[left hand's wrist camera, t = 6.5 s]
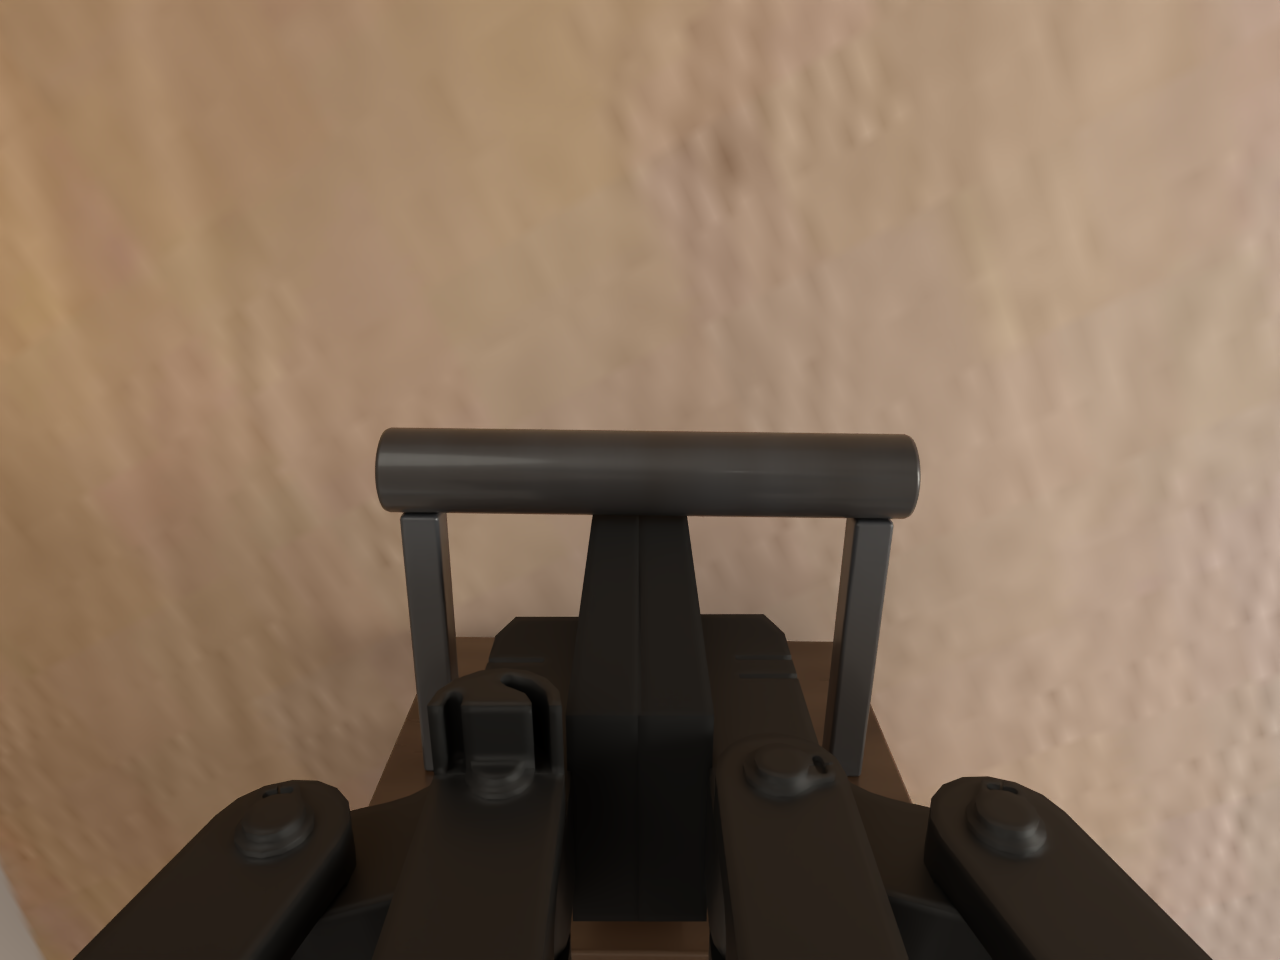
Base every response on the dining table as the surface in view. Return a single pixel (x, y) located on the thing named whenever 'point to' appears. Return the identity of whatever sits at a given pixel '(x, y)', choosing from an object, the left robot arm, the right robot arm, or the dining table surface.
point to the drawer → (653, 486)
